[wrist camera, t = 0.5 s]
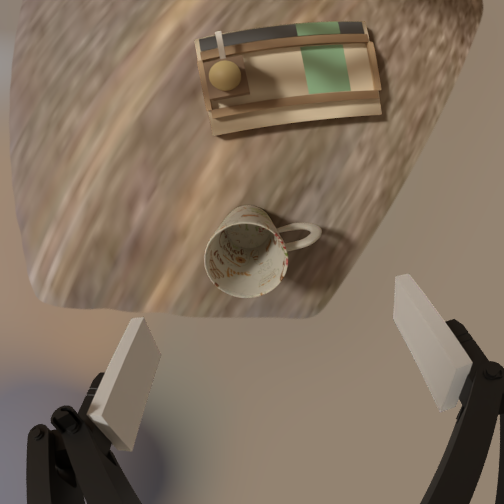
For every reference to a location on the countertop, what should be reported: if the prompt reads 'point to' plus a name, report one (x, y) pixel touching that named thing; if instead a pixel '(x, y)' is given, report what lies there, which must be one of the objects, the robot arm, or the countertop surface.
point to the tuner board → (295, 74)
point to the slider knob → (226, 75)
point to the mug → (251, 252)
